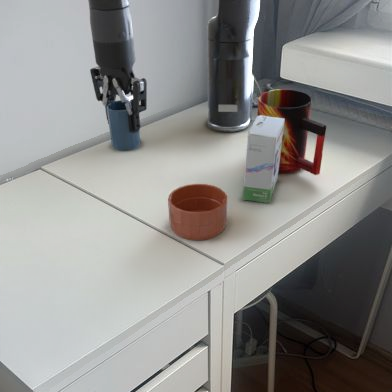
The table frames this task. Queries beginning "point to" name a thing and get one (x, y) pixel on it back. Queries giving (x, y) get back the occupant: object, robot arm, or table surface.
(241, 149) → the table surface
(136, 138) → the cup
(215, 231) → the bowl
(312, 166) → the mug
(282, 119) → the ink box
